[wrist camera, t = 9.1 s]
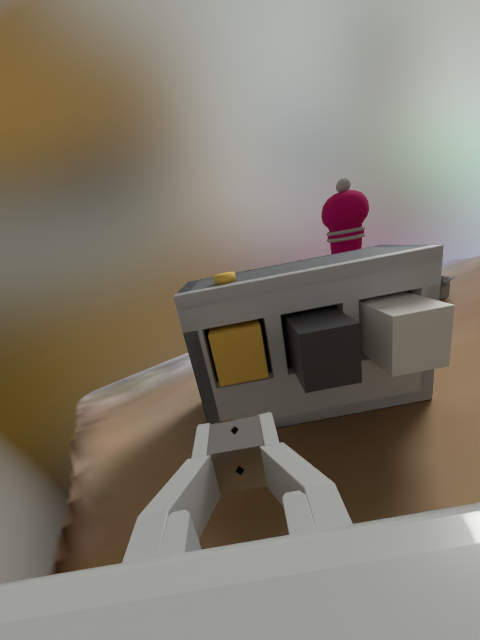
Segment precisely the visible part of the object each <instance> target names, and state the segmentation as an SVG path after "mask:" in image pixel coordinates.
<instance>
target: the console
mask: <svg viewBox="0 0 480 640" xmlns="http://www.w3.org/2000/svg"><path fill="white" fill-rule="evenodd" d="M442 258H443V245H379V246H374V247H368V248H364V249H358V250H353V251H348V252H342V253H337V254H332V255H327V256H321V257H316V258H311V259H306V260H300V261H295V262H290V263H285V264H280V265H275V266H269V267H264V268H259V269H253V270H248V271H244V272H238V273H235V272H226V273H221V274H217V275H214V276H213V277H212V278H207V279H202V280H196V281H191V282H188V283H187V284H186V285H185V286H184V287H183V288H182V289H181V290H180V291H179V292H178V293H177V294H176V295H175V296H174V301H175V305H176V309H177V312H178V316H179V320H180V323H181V327H182V331H183V334H184V338H185V342H186V345H187V349H188V353H189V356H190V360H191V364H192V367H193V371H194V375H195V378H196V382H197V386H198V389H199V393H200V397H201V400H202V404H203V408H204V411H205V415H206V419H207V422H208V423H211V422H218V421H224V420H231V419H238V418H243V417H249V416H254V415H259V414H263V413H268V412H271V413H272V415H273V419H274V423H275V427H276V428H279V427H285V426H290V425H295V424H301V423H306V422H311V421H317V420H322V419H327V418H333V417H338V416H343V415H349V414H354V413H359V412H365V411H370V410H375V409H381V408H386V407H391V406H397V405H402V404H407V403H413V402H418V401H423V400H429V399H432V394H433V380H434V369H431V370H426V371H421V372H415V373H410V374H405V375H399V376H394V377H392V376H390V375H389V374H388V373H387V372H385V371H384V370H383V369H382V368H380V367H379V366H378V365H377V364H375V363H374V362H373V361H372V360H371V359H369V358H368V357H367V356H366V355H364V354H363V353H362V352H361V362H362V383H357V384H352V385H346V386H341V387H336V388H330V389H325V390H320V391H315V392H309V393H305V391H304V389H303V388H302V386H301V384H300V382H299V380H298V378H297V376H296V374H295V372H294V370H293V369H292V367H291V365H290V362H289V354H288V347H287V339H286V332H285V324H284V317H283V315H286V314H292V313H297V312H302V311H307V310H313V309H318V308H323V307H328V306H333V307H334V308H336V309H338V310H339V311H341V312H343V313H344V314H346V315H348V316H350V317H351V318H353V319H355V320H356V321H358V322H359V301H360V300H365V299H370V298H376V297H381V296H386V295H391V294H397V293H402V292H408V293H412V294H416V295H420V296H423V297H427V298H431V299H434V300H438V301H439V299H440V285H441V271H442ZM255 319H258V322H259V324H260V327H261V333H262V339H263V345H264V351H265V357H266V363H267V369H268V375H269V377H268V378H263V379H258V380H253V381H247V382H242V383H237V384H231V385H226V386H221V387H220V384H219V379H218V375H217V371H216V367H215V363H214V359H213V354H212V350H211V346H210V342H209V338H208V335H209V330H210V328H213V327H218V326H224V325H229V324H234V323H239V322H245V321H250V320H255ZM260 425H261V424H260Z"/></svg>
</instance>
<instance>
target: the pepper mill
mask: <svg viewBox="0 0 480 640" xmlns="http://www.w3.org/2000/svg"><path fill="white" fill-rule="evenodd" d="M349 188H350V181H349V180H348V179H346V178H344V179H341V180H339V181H338V183H337V186H336V189H337V191H338V192H339V193H337V194H335V195H333V196H332V197H330V198H329V199H328V200H327V201H326V203H325V204H324V206H323V210H322V221H323V223H324V225H325V226H326V227H327V228H328V229H329V233H327V236H328V240H327V242H329V243H330V245H331V255H332V254H337V253H342V252H348V251H353V250H358V249H362V248H361V245H362V237H364V236H365V233H364V229H365V227H364V226H362V223H363V221H364V220H365V218H366V217H367V214H368V212H369V204H368V200H367V198H366V197H365V196H364V194H363V193H361V192H358V191H354V190H349Z"/></svg>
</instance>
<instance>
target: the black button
mask: <svg viewBox="0 0 480 640" xmlns="http://www.w3.org/2000/svg"><path fill="white" fill-rule="evenodd" d="M283 317H284V324H285V332H286V339H287V347H288V354H289V362H290V365H291V367H292V369H293V370H294V372H295V374H296V376H297V378H298V380H299V382H300V384H301V386H302V388H303V389H304V391H305V393H309V392H315V391H320V390H325V389H330V388H336V387H341V386H346V385H352V384H357V383H362V362H361V329H360V322H358V321H356V320H355V319H353V318H351V317H350V316H348V315H346V314H344V313H343V312H341V311H339V310H338V309H336V308H334V307H333V306H328V307H323V308H318V309H313V310H307V311H302V312H297V313H292V314H286V315H283Z"/></svg>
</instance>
